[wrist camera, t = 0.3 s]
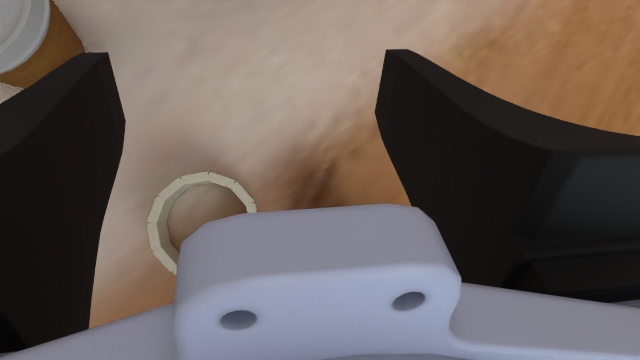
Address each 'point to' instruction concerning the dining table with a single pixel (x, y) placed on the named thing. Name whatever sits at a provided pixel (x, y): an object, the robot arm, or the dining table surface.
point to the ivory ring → (164, 204)
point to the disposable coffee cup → (33, 41)
